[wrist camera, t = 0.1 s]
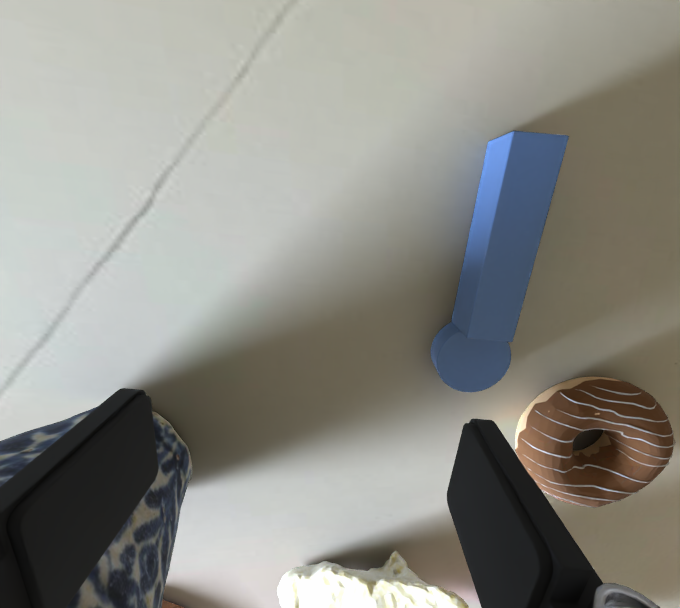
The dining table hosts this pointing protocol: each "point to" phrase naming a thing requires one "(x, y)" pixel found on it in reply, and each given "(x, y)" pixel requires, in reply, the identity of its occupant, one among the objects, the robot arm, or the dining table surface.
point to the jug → (138, 531)
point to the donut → (606, 453)
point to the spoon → (498, 258)
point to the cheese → (362, 588)
